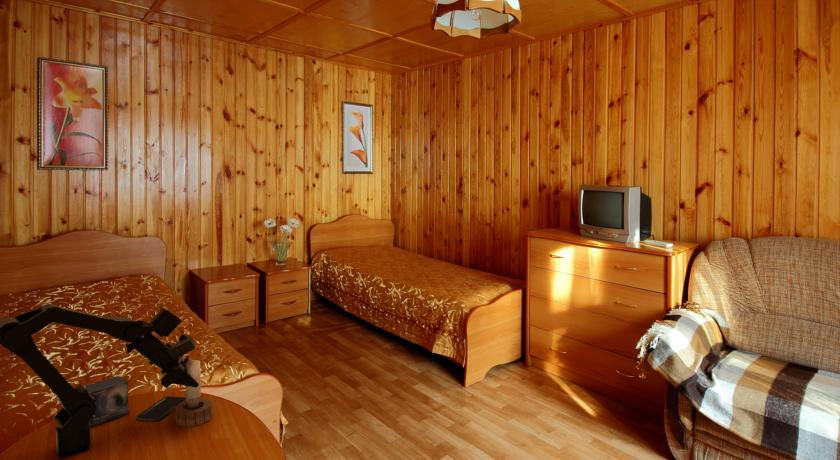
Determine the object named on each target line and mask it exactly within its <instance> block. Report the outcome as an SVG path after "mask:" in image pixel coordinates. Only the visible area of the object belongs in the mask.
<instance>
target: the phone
mask: <svg viewBox="0 0 840 460" xmlns="http://www.w3.org/2000/svg"><path fill="white" fill-rule="evenodd" d="M184 401H187V398H186V396H171V395H167V396H164V397H163V398H161V399H159V400H158V401H156V402H155V403H153V404H151V405H150V406H149V407H148V408H147V409H145V410H143V411H142V412H141V413H139V414H137V415H136V416H135V420H136V421H137V422H150V423H151V422H152V423H160V422H161V421H163V420H164V419H165V418H167V417H169V415H171V414H172V413H174V412H175V408H176V406H177V405H178V404H180V403H182V402H184Z"/></svg>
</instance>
